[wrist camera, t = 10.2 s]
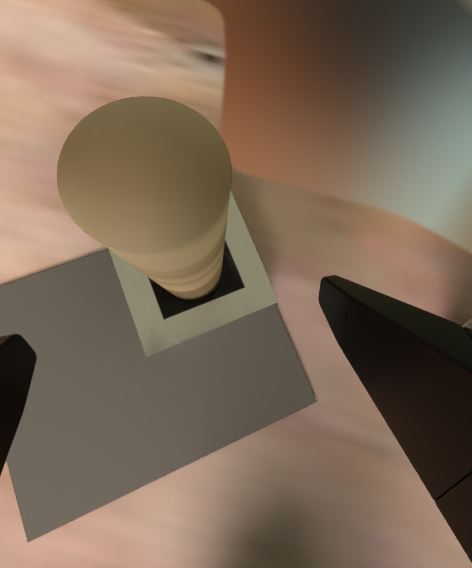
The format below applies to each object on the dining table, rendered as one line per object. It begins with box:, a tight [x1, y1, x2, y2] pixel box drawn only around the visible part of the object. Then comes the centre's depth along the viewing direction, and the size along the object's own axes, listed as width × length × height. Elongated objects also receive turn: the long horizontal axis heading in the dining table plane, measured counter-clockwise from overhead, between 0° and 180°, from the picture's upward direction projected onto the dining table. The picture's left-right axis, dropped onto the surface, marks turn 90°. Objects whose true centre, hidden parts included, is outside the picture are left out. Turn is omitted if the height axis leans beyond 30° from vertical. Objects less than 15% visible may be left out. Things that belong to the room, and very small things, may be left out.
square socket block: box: [109, 190, 279, 357], centre depth 17 cm, size 8×8×4 cm
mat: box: [0, 249, 317, 542], centre depth 18 cm, size 16×20×1 cm
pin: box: [57, 96, 232, 303], centre depth 12 cm, size 4×4×13 cm
